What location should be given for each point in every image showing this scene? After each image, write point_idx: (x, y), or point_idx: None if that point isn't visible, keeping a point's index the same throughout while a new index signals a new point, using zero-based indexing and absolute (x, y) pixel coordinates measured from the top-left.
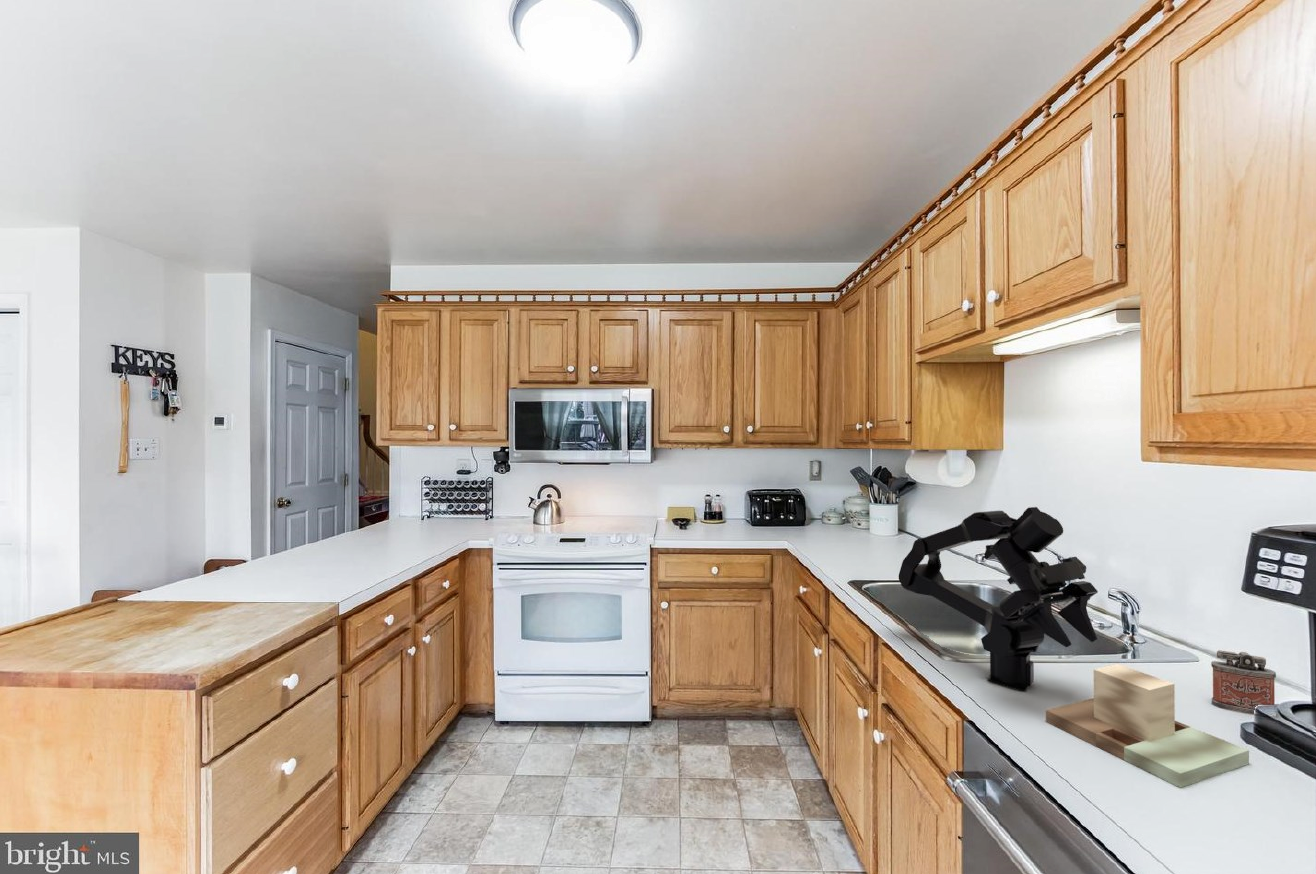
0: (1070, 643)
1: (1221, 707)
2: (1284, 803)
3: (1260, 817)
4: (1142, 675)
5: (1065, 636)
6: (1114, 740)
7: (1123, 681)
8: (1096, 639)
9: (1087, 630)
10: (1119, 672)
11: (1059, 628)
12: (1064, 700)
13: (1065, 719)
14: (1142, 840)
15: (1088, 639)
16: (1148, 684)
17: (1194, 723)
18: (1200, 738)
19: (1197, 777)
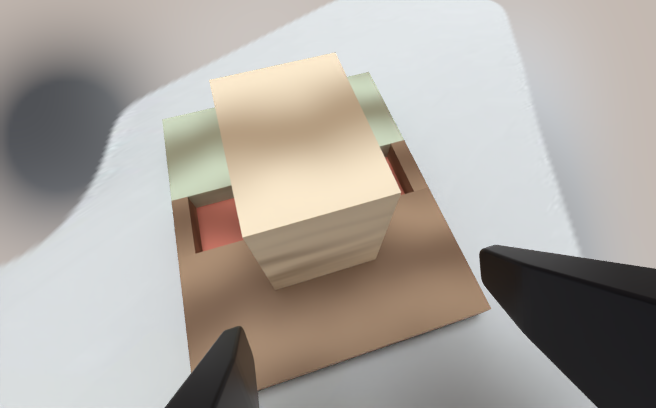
0: (491, 246)
1: None
2: (246, 61)
3: (314, 43)
4: (251, 135)
5: (536, 258)
6: (406, 160)
7: (360, 108)
8: (233, 329)
9: (241, 393)
10: (316, 161)
11: (616, 271)
12: None
13: (461, 254)
14: (506, 20)
15: (255, 384)
16: (301, 79)
17: (84, 282)
18: (207, 158)
19: None
